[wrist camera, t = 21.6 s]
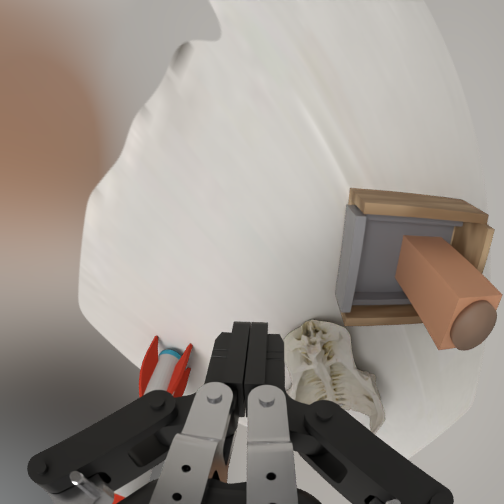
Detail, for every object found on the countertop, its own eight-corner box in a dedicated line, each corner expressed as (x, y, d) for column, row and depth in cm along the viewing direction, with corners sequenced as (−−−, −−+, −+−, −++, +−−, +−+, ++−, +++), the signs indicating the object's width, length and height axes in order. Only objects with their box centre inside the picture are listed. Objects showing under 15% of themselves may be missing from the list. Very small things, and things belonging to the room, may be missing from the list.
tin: (403, 235, 28) (464, 304, 17) (441, 237, 28) (507, 300, 16) (394, 277, 30) (442, 356, 19) (431, 277, 30) (485, 349, 19)
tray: (346, 204, 28) (355, 216, 25) (452, 213, 28) (470, 224, 24) (335, 293, 33) (340, 312, 29) (432, 292, 32) (445, 309, 28)
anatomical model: (296, 467, 39) (245, 385, 29) (295, 424, 47) (251, 329, 37) (386, 447, 36) (389, 351, 26) (376, 405, 44) (367, 299, 34)
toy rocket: (154, 334, 39) (66, 533, 12) (193, 343, 39) (126, 558, 12) (155, 360, 41) (84, 541, 14) (191, 369, 41) (135, 561, 14)
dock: (350, 188, 29) (370, 207, 23) (462, 199, 28) (496, 220, 22) (336, 297, 34) (347, 335, 28) (438, 295, 33) (461, 328, 27)
